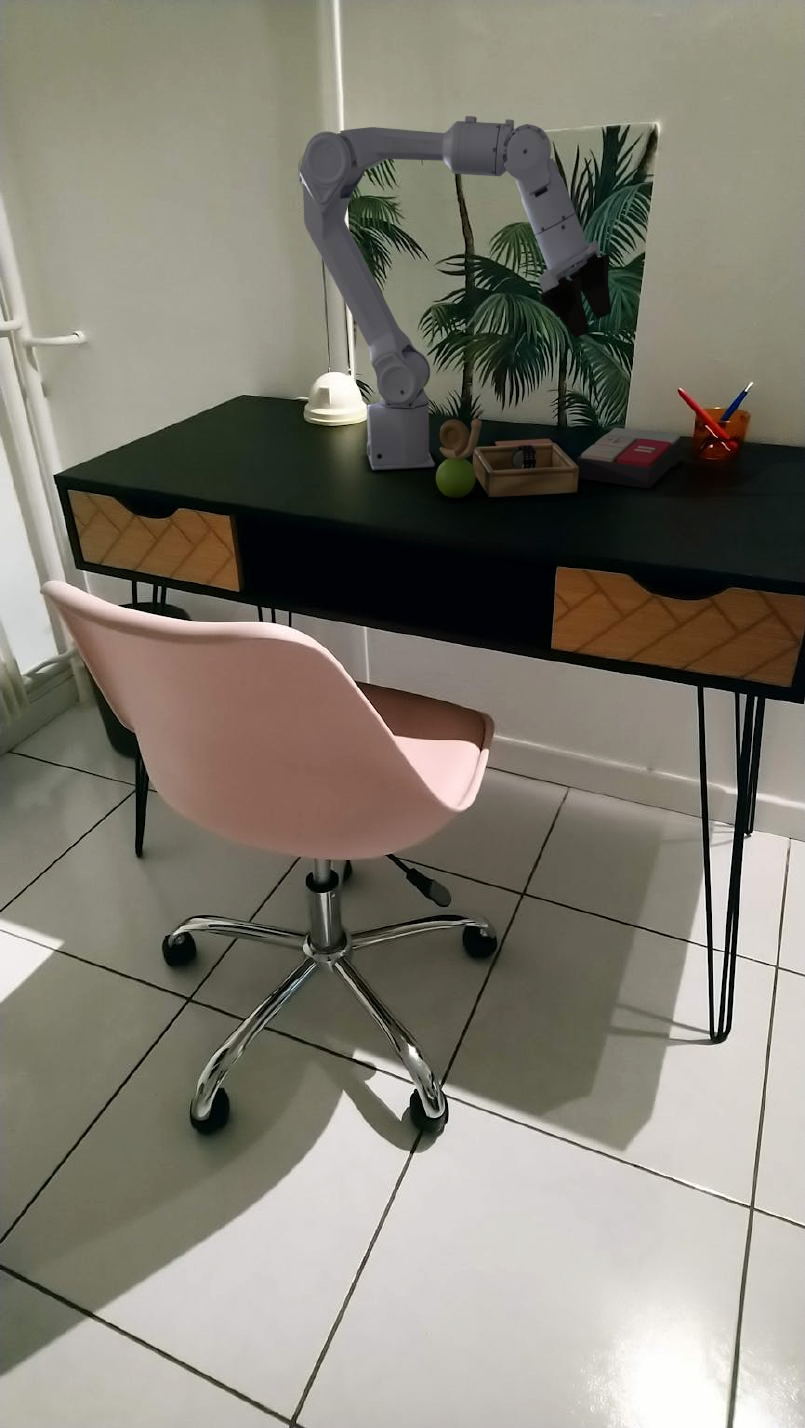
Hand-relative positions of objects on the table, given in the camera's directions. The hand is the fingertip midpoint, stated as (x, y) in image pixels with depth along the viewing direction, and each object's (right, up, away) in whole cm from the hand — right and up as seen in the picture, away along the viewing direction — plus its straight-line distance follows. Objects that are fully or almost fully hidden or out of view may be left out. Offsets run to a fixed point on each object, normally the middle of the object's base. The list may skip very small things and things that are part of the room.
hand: (593, 325), depth 122 cm
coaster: (-6, -11, +19) cm, 23 cm away
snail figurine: (-18, -24, 0) cm, 30 cm away
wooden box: (-9, -20, +6) cm, 22 cm away
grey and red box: (+7, -17, +10) cm, 21 cm away
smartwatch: (-9, -20, +6) cm, 23 cm away
